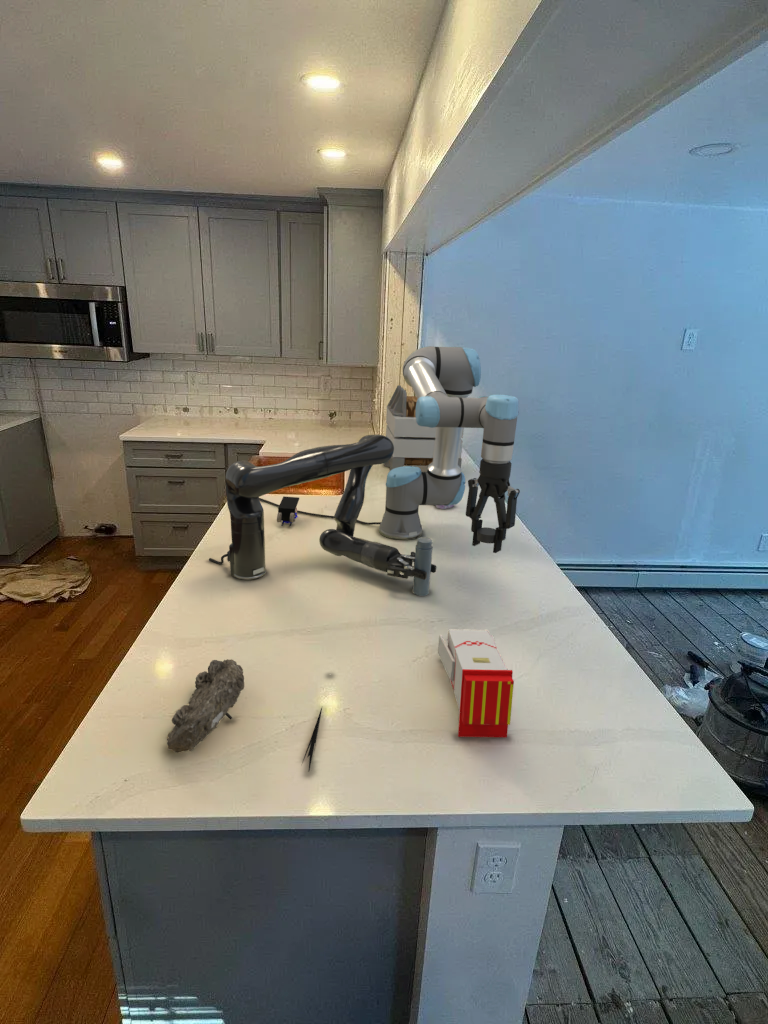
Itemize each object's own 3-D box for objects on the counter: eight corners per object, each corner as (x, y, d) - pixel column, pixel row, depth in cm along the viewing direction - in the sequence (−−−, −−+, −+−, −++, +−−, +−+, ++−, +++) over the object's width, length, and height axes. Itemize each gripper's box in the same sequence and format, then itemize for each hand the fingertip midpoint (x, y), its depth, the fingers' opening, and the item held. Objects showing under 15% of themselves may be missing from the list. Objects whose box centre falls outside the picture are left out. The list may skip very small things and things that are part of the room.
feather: (331, 679, 122) (336, 673, 122) (307, 777, 96) (313, 769, 95) (324, 675, 122) (329, 669, 121) (298, 772, 95) (304, 764, 95)
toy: (488, 613, 130) (523, 677, 101) (484, 667, 133) (517, 744, 104) (435, 612, 130) (455, 676, 101) (432, 666, 133) (451, 743, 103)
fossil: (192, 660, 117) (244, 628, 112) (224, 691, 120) (276, 661, 115) (142, 746, 98) (202, 712, 93) (182, 779, 101) (242, 748, 96)
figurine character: (295, 532, 200) (300, 513, 214) (294, 513, 197) (299, 495, 210) (276, 531, 200) (282, 512, 213) (275, 512, 197) (281, 494, 210)
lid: (472, 539, 144) (472, 531, 144) (483, 533, 148) (484, 525, 148) (491, 545, 141) (492, 537, 140) (502, 539, 145) (503, 531, 144)
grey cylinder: (432, 591, 160) (436, 539, 155) (422, 597, 157) (426, 544, 151) (419, 586, 163) (422, 535, 157) (409, 592, 159) (412, 539, 154)
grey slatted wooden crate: (382, 463, 289) (386, 382, 275) (445, 464, 293) (451, 384, 279) (390, 482, 257) (394, 392, 243) (460, 483, 261) (468, 394, 247)
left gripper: (365, 552, 158) (418, 569, 149) (393, 537, 169) (444, 552, 160) (365, 576, 160) (417, 594, 152) (392, 560, 172) (442, 575, 163)
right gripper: (538, 465, 135) (526, 554, 143) (472, 450, 146) (464, 534, 154) (522, 470, 130) (511, 563, 137) (455, 455, 141) (448, 541, 149)
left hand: (430, 572), depth 156 cm, fingers closed on grey cylinder, 4 cm apart
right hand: (486, 547), depth 146 cm, fingers closed on lid, 5 cm apart
